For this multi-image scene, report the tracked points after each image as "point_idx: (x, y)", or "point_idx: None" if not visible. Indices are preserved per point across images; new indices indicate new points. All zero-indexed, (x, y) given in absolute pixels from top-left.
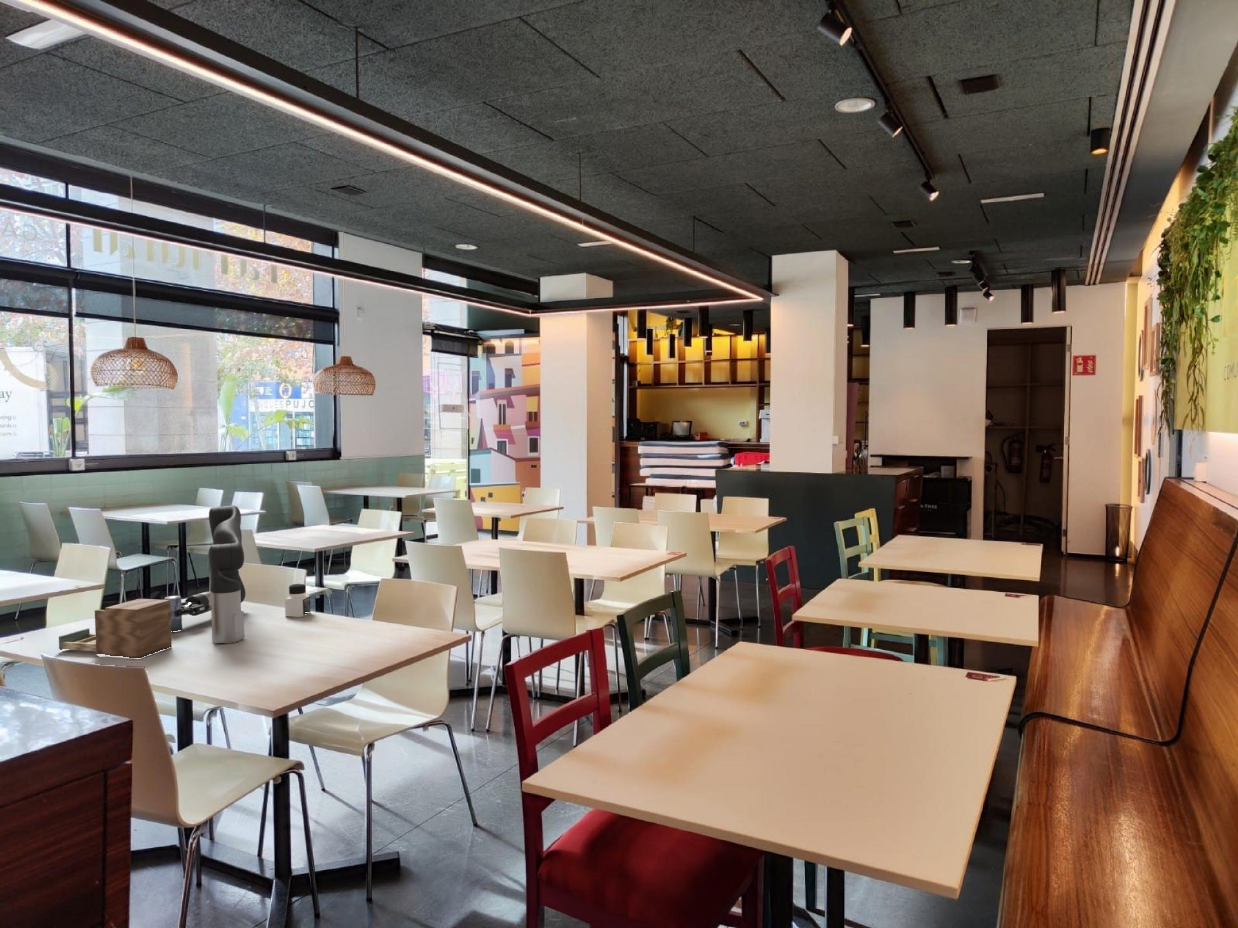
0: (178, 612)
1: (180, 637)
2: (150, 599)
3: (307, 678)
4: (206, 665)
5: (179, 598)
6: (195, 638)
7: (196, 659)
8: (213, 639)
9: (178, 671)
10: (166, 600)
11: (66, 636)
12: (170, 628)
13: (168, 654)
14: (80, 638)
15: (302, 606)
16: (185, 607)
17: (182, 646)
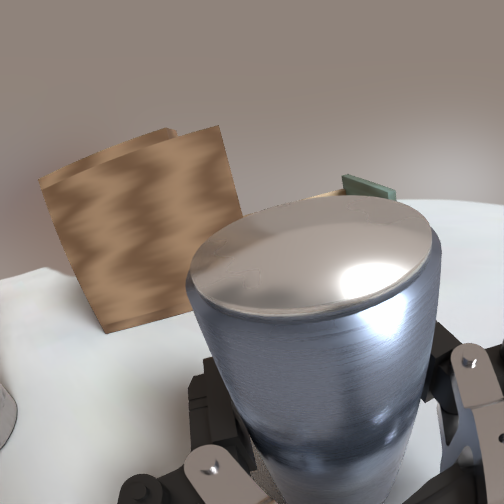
0: (199, 382)
1: (164, 420)
2: (111, 147)
3: None
4: (6, 310)
5: (187, 291)
6: (87, 429)
7: (24, 317)
8: (4, 388)
9: (37, 286)
10: (48, 175)
11: (349, 181)
12: (76, 275)
13: (85, 309)
14: None
15: None
16: (210, 464)
17: (82, 352)
